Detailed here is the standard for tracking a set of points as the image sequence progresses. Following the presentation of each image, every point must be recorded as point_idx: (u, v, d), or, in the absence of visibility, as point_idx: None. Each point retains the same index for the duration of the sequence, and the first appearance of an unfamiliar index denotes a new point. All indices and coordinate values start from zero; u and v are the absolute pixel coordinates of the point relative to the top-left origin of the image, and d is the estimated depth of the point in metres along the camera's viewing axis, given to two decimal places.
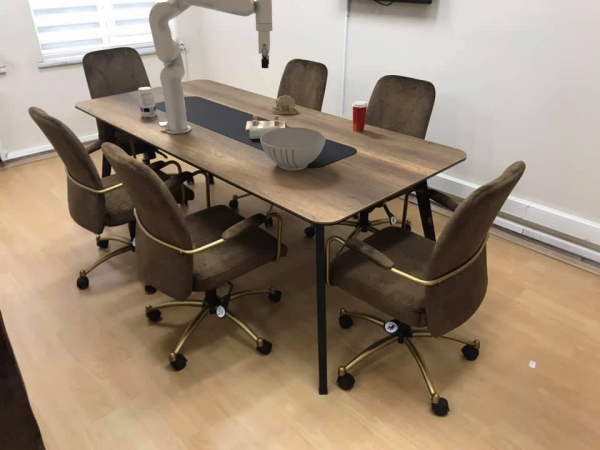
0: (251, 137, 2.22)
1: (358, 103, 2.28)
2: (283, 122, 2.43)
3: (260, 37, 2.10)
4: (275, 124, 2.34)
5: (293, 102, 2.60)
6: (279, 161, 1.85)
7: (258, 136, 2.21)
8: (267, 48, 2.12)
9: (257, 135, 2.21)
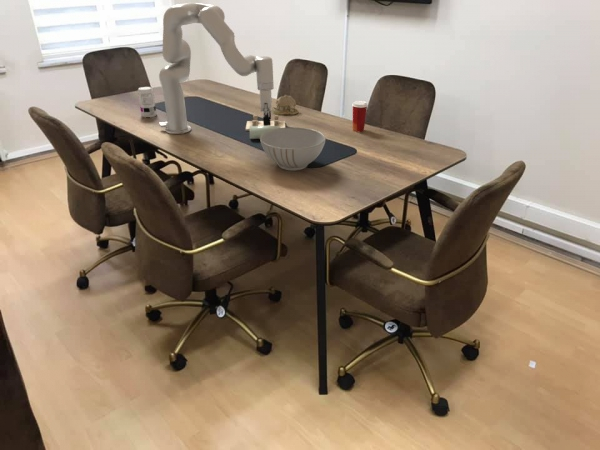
0: (251, 137, 2.22)
1: (358, 103, 2.28)
2: (283, 122, 2.43)
3: (261, 96, 2.10)
4: (275, 124, 2.34)
5: (294, 102, 2.60)
6: (279, 161, 1.85)
7: (258, 136, 2.21)
8: (269, 106, 2.12)
9: (257, 135, 2.21)
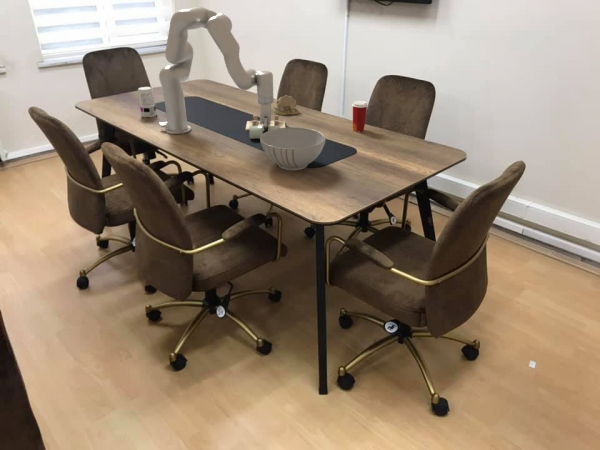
0: (251, 137, 2.22)
1: (358, 103, 2.28)
2: (283, 122, 2.43)
3: (261, 110, 2.13)
4: (275, 124, 2.34)
5: (294, 102, 2.59)
6: (279, 161, 1.85)
7: (258, 136, 2.21)
8: (268, 120, 2.15)
9: (257, 135, 2.21)
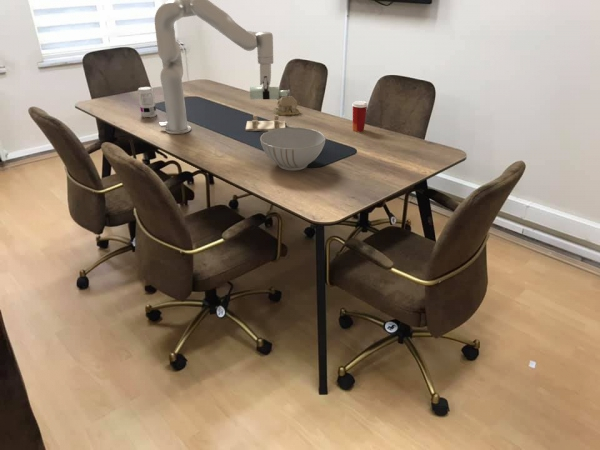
0: (251, 97, 2.29)
1: (358, 103, 2.28)
2: (283, 122, 2.43)
3: (261, 69, 2.21)
4: (275, 124, 2.34)
5: (295, 102, 2.59)
6: (279, 161, 1.85)
7: (258, 96, 2.29)
8: (268, 80, 2.23)
9: (257, 95, 2.28)
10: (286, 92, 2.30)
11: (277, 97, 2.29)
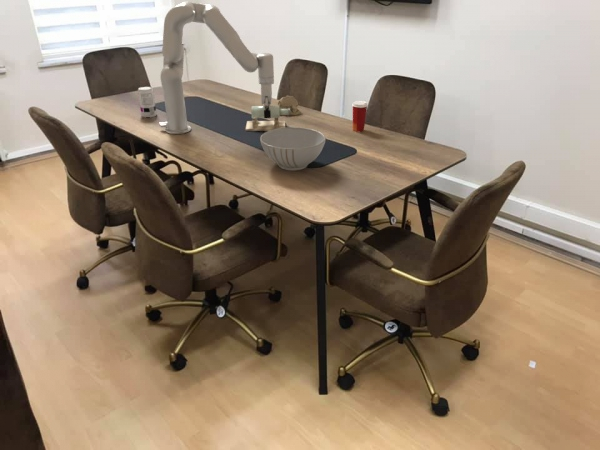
0: (253, 116, 2.35)
1: (358, 103, 2.28)
2: (283, 122, 2.43)
3: (262, 90, 2.26)
4: (275, 124, 2.34)
5: (296, 102, 2.59)
6: (279, 161, 1.85)
7: (259, 115, 2.34)
8: (269, 99, 2.29)
9: (258, 114, 2.34)
10: (287, 111, 2.35)
11: (278, 116, 2.35)
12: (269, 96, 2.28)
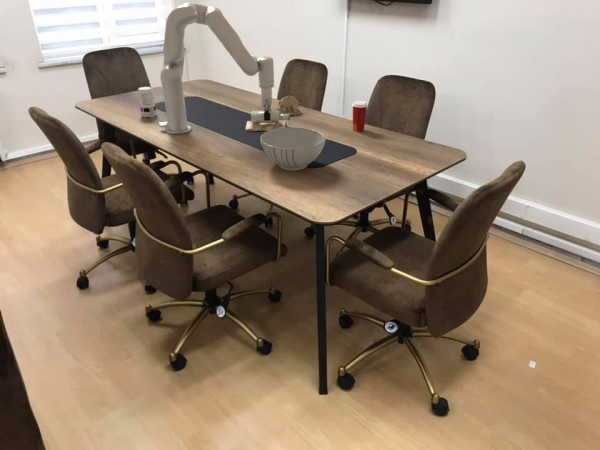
0: None
1: (358, 103, 2.28)
2: (283, 122, 2.43)
3: (263, 93, 2.27)
4: (275, 124, 2.34)
5: (296, 102, 2.59)
6: (279, 161, 1.85)
7: (259, 120, 2.36)
8: (269, 103, 2.29)
9: (258, 119, 2.35)
10: (286, 116, 2.37)
11: (278, 121, 2.36)
12: (269, 99, 2.29)
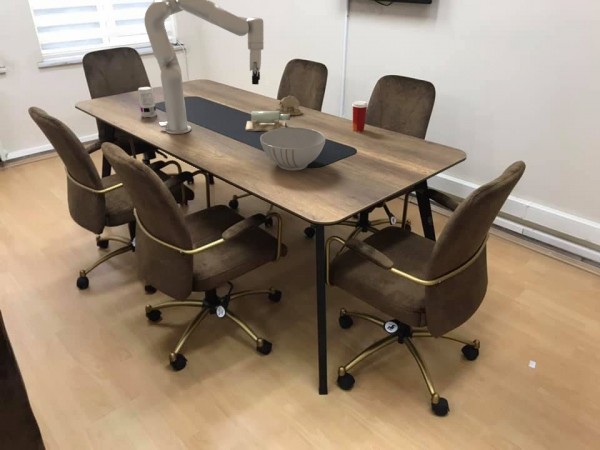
0: None
1: (358, 103, 2.28)
2: (283, 122, 2.43)
3: (251, 55, 2.21)
4: (275, 124, 2.34)
5: (297, 103, 2.59)
6: (279, 161, 1.85)
7: (259, 120, 2.36)
8: (258, 66, 2.23)
9: (258, 119, 2.35)
10: (286, 116, 2.37)
11: (278, 121, 2.36)
12: (258, 62, 2.23)
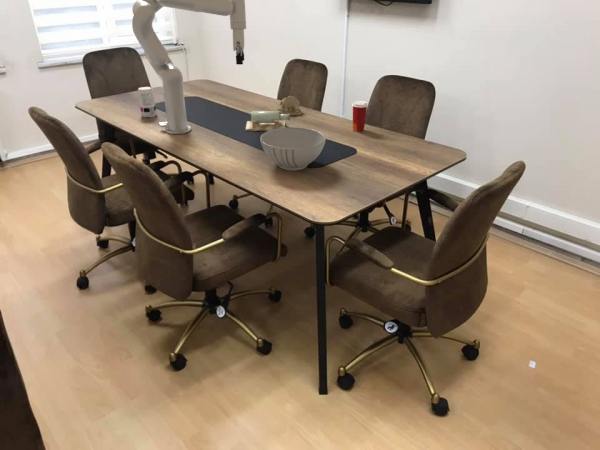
0: None
1: (358, 103, 2.28)
2: (283, 122, 2.43)
3: (234, 35, 2.22)
4: (275, 124, 2.34)
5: (298, 103, 2.59)
6: (279, 161, 1.85)
7: (259, 120, 2.36)
8: (241, 45, 2.24)
9: (258, 119, 2.35)
10: (286, 116, 2.37)
11: (278, 121, 2.36)
12: (241, 42, 2.23)
